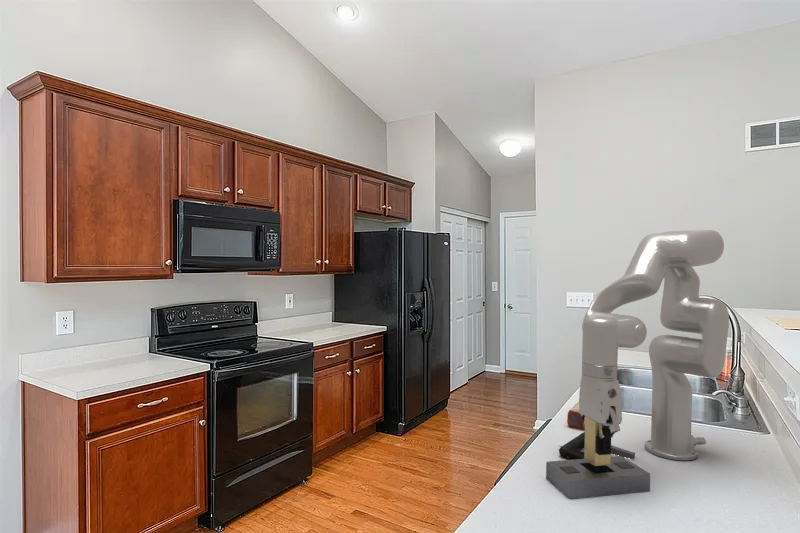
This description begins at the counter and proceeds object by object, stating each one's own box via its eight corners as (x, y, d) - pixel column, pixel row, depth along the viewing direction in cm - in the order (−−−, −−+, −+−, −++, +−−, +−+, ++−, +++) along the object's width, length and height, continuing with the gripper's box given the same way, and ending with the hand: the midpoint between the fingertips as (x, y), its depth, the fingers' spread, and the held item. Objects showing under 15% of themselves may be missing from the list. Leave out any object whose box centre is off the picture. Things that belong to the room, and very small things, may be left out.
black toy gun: (642, 443, 132) (583, 426, 142) (616, 466, 117) (553, 444, 128) (641, 455, 132) (582, 437, 143) (615, 479, 117) (552, 456, 128)
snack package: (587, 432, 146) (587, 410, 146) (565, 428, 150) (565, 406, 150) (603, 414, 164) (603, 395, 164) (582, 411, 167) (583, 391, 167)
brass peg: (599, 457, 114) (600, 415, 114) (610, 464, 110) (611, 420, 110) (584, 458, 113) (585, 416, 113) (594, 466, 109) (595, 421, 109)
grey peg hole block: (620, 472, 118) (621, 455, 118) (649, 491, 109) (650, 473, 109) (546, 478, 114) (546, 461, 114) (569, 499, 105) (569, 480, 104)
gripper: (638, 379, 104) (636, 464, 104) (592, 362, 120) (590, 436, 120) (607, 380, 102) (605, 466, 102) (564, 363, 119) (563, 438, 119)
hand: (597, 449), depth 111 cm, fingers closed on brass peg, 4 cm apart
